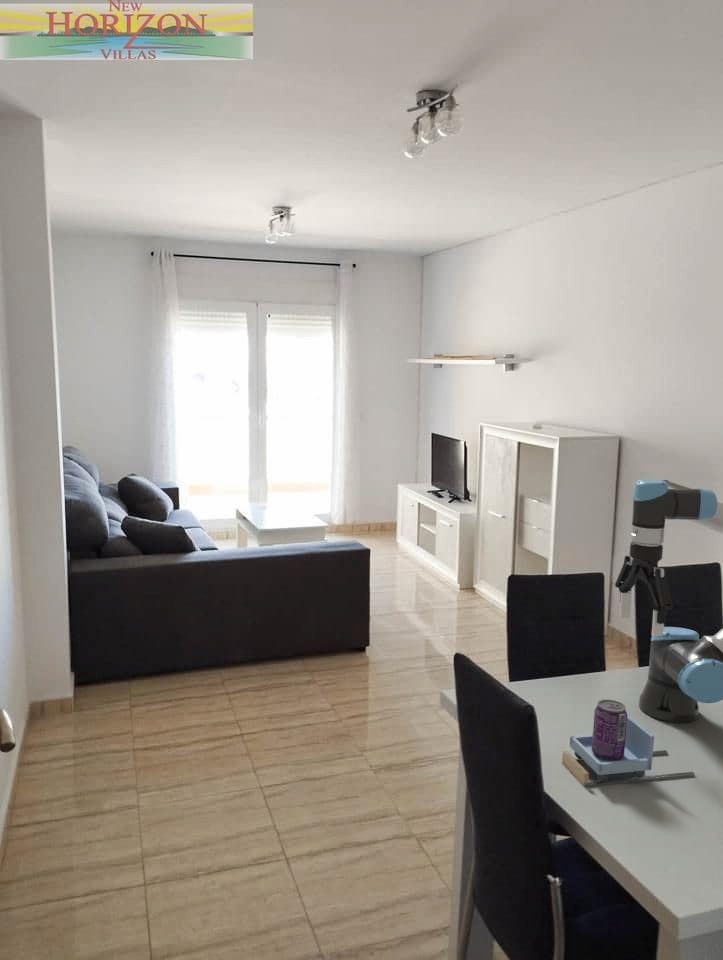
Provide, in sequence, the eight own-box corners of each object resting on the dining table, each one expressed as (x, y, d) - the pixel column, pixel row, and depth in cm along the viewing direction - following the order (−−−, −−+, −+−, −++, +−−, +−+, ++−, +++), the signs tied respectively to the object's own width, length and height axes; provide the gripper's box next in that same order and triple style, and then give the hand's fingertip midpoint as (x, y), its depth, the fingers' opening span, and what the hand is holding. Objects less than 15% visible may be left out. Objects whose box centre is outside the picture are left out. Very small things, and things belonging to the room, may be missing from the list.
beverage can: (621, 749, 176) (625, 700, 174) (625, 764, 169) (630, 713, 167) (589, 745, 177) (593, 696, 176) (592, 760, 171) (597, 710, 169)
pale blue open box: (618, 750, 182) (621, 710, 180) (650, 779, 169) (654, 736, 168) (568, 755, 179) (572, 714, 177) (597, 785, 166) (601, 740, 165)
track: (665, 752, 184) (666, 740, 183) (694, 775, 173) (695, 763, 173) (561, 762, 177) (562, 750, 177) (584, 787, 167) (585, 774, 166)
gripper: (604, 532, 196) (599, 611, 200) (665, 555, 173) (658, 644, 176) (630, 531, 198) (624, 609, 201) (693, 554, 174) (686, 642, 177)
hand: (640, 626), depth 189 cm, fingers open, 13 cm apart
